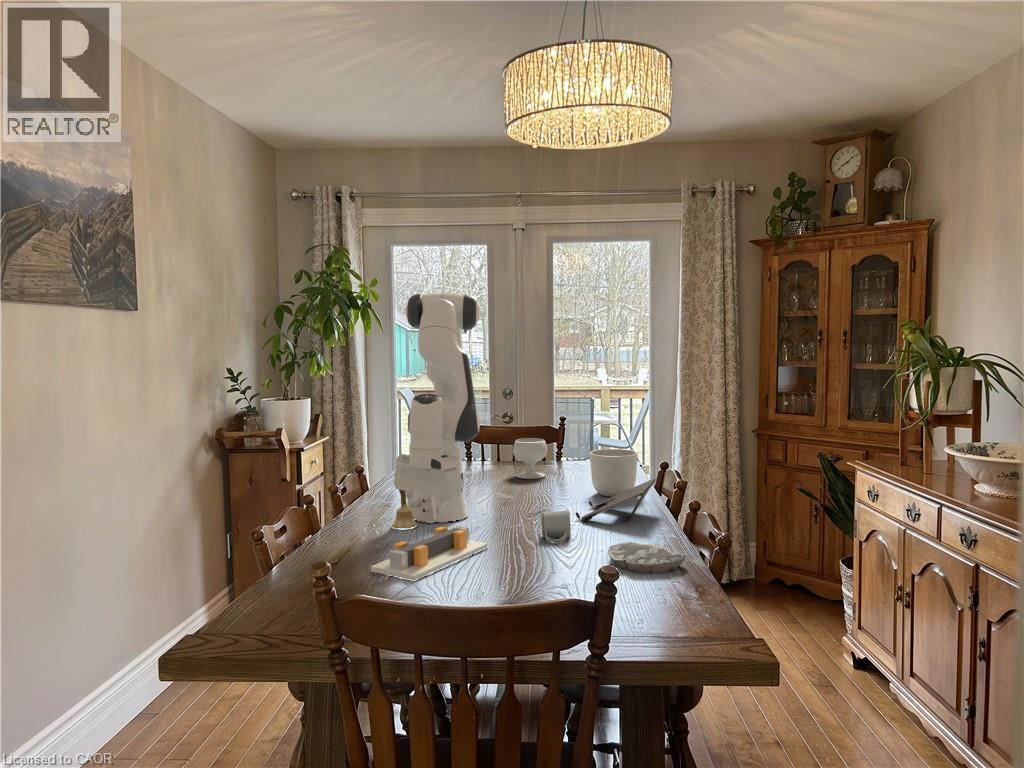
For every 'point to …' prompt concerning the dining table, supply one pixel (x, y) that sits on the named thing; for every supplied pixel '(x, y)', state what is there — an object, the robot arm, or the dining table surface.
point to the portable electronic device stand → (620, 500)
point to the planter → (613, 470)
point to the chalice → (530, 455)
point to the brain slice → (644, 557)
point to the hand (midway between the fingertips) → (426, 510)
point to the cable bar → (435, 545)
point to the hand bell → (404, 514)
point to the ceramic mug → (556, 525)
